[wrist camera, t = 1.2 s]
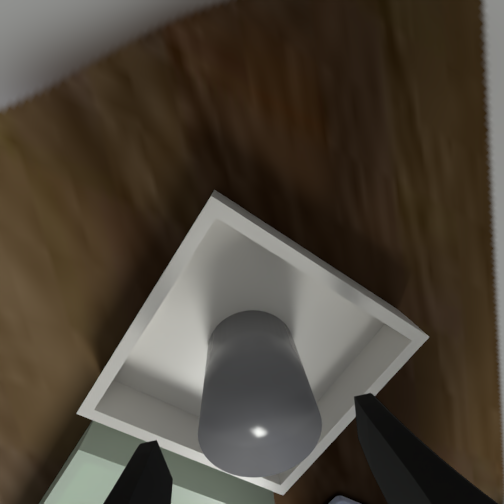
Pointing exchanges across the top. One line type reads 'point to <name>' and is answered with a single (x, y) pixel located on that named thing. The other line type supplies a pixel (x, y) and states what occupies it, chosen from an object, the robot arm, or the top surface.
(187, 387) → the bin
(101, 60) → the top surface
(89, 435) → the bin
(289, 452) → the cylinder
